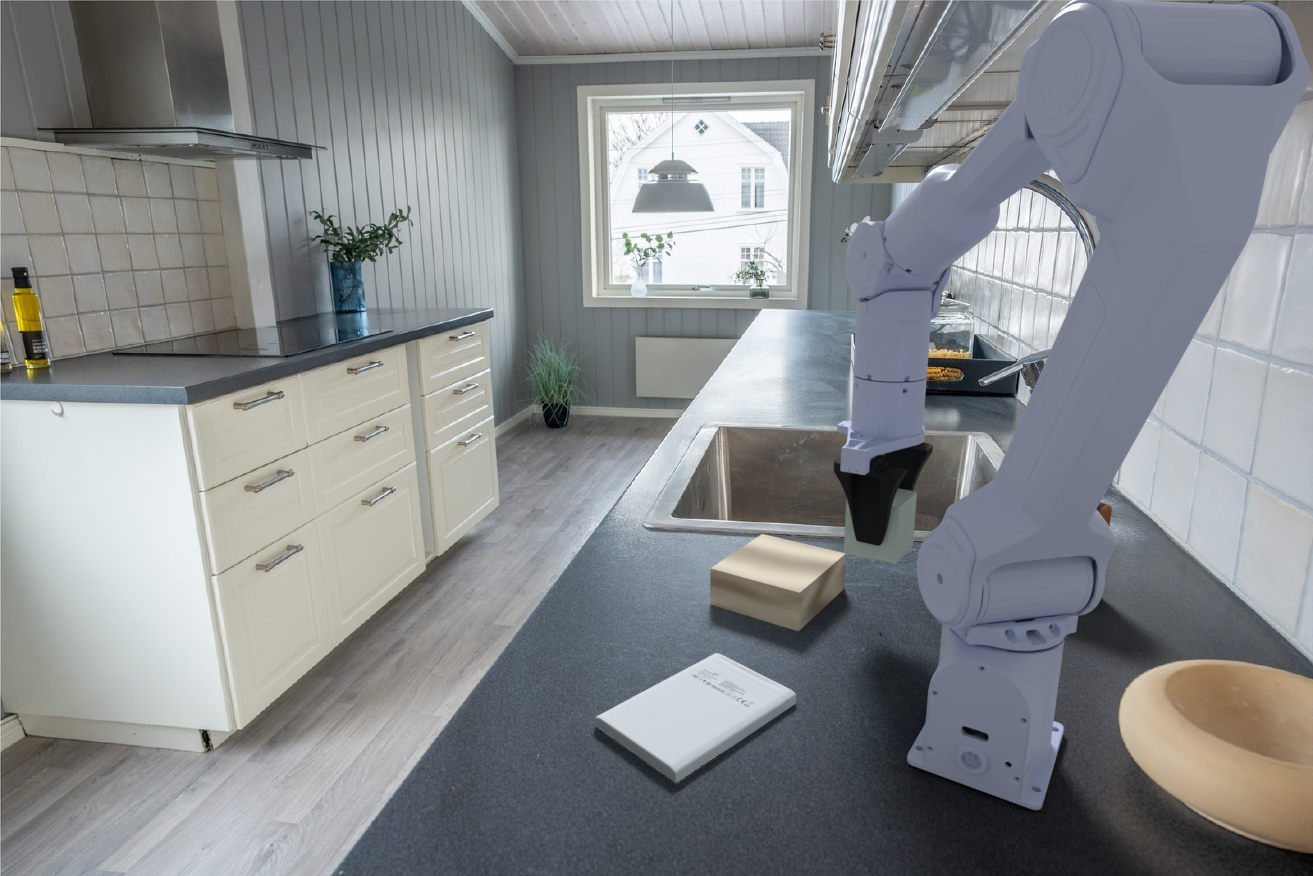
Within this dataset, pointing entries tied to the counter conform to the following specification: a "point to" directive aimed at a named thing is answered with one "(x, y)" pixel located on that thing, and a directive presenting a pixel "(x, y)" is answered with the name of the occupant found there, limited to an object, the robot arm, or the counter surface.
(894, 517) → the sage block
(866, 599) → the counter surface
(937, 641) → the counter surface
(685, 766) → the external hard drive
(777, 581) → the birch block
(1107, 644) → the counter surface
